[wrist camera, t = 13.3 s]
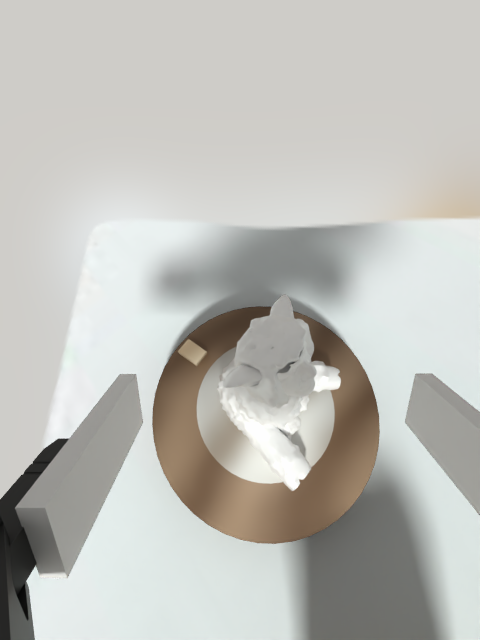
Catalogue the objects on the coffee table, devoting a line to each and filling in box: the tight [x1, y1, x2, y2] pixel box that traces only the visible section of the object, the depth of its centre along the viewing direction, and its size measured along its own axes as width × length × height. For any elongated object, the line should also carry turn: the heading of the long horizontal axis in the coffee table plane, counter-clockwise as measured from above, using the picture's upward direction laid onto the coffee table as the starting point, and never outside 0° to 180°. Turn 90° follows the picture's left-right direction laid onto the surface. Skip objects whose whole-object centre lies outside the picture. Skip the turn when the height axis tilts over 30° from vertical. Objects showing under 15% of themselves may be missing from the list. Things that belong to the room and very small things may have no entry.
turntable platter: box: [152, 307, 380, 544], centre depth 23 cm, size 18×18×2 cm
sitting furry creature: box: [217, 294, 341, 491], centre depth 18 cm, size 10×9×12 cm
